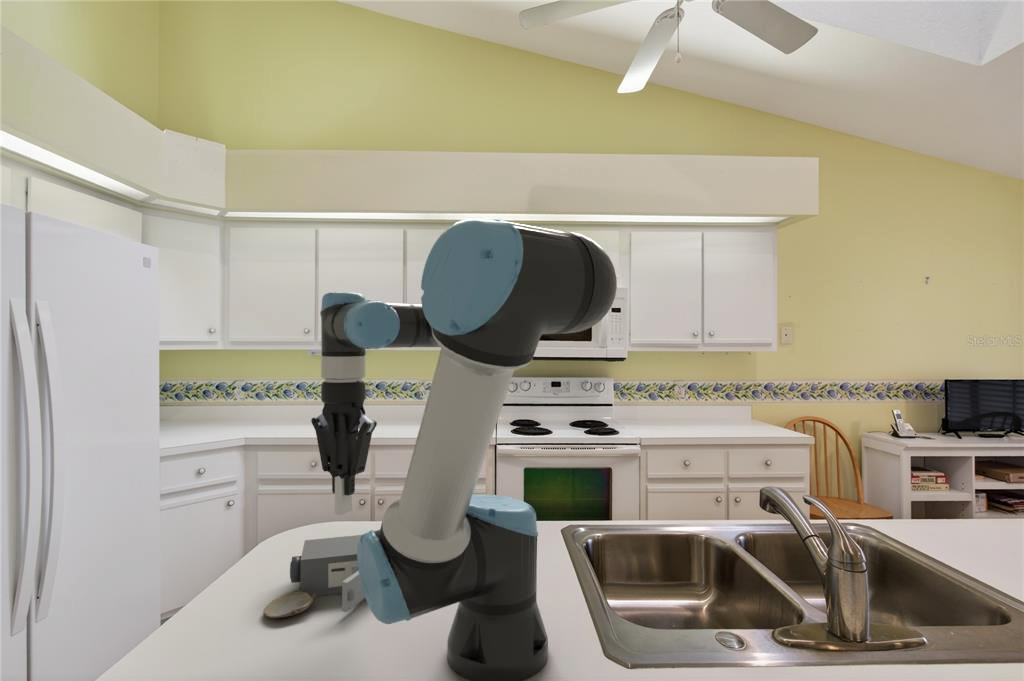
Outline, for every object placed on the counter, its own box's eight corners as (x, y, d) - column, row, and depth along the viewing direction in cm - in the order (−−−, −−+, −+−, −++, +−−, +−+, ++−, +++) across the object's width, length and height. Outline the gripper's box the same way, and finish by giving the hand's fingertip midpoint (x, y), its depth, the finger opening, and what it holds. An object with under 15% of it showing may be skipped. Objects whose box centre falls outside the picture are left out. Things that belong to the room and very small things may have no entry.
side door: (383, 585, 102) (383, 558, 102) (349, 612, 92) (349, 583, 92) (376, 584, 103) (376, 557, 103) (341, 611, 93) (341, 581, 93)
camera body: (390, 587, 104) (390, 547, 104) (288, 600, 99) (288, 557, 99) (387, 566, 113) (387, 529, 113) (293, 576, 108) (293, 537, 108)
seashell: (277, 612, 98) (254, 625, 90) (276, 594, 99) (254, 605, 91) (322, 605, 98) (303, 617, 90) (321, 587, 99) (302, 597, 91)
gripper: (386, 379, 98) (386, 510, 98) (329, 377, 103) (329, 501, 104) (359, 383, 91) (359, 524, 91) (299, 380, 96) (299, 513, 97)
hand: (343, 512), depth 98 cm, fingers closed
